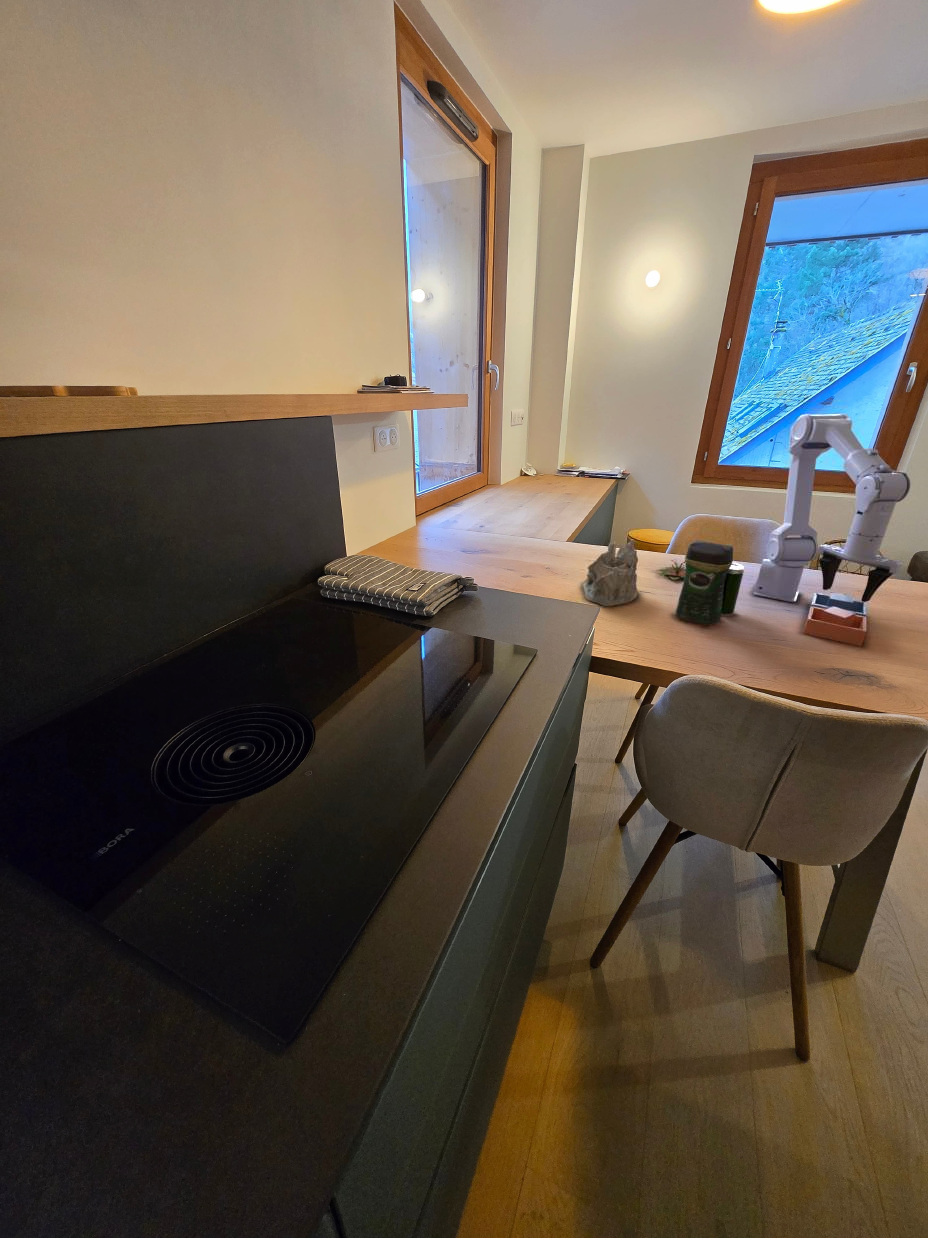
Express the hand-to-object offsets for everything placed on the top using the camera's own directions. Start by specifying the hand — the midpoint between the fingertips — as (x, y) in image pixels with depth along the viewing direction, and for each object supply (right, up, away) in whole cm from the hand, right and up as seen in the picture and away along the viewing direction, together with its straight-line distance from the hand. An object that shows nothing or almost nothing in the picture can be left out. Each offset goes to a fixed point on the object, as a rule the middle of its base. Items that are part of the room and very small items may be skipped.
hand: (845, 594), depth 106 cm
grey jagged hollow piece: (-44, +2, +27) cm, 52 cm away
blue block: (+6, -4, +11) cm, 13 cm away
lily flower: (-20, +7, +38) cm, 43 cm away
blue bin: (+6, -5, +11) cm, 14 cm away
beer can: (-19, -4, +15) cm, 24 cm away
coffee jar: (-27, -5, +12) cm, 30 cm away
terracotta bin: (0, -8, +4) cm, 9 cm away
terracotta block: (0, -8, +4) cm, 9 cm away
